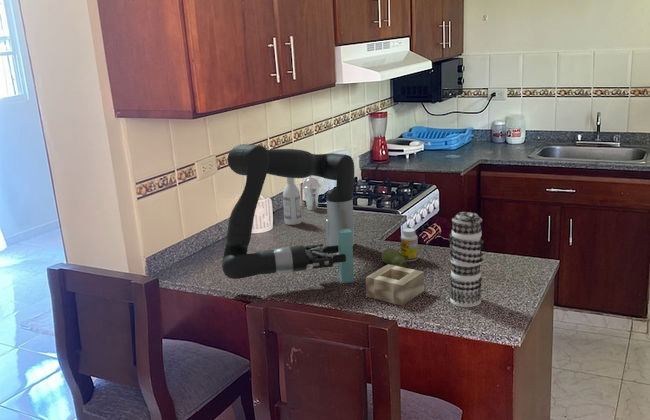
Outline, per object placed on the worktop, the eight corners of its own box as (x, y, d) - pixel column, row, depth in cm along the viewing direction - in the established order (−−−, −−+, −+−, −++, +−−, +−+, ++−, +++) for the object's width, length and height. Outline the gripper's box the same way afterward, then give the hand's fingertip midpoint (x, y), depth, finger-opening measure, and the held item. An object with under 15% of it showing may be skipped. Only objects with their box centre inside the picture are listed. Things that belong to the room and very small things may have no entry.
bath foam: (300, 219, 255) (297, 172, 250) (302, 224, 249) (299, 176, 243) (283, 221, 254) (280, 174, 249) (285, 226, 248) (282, 177, 243)
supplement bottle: (398, 257, 207) (397, 228, 204) (413, 255, 208) (413, 226, 205) (405, 263, 201) (404, 233, 199) (420, 260, 203) (420, 231, 200)
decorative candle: (443, 296, 174) (443, 211, 168) (473, 292, 176) (474, 208, 169) (456, 309, 166) (457, 220, 159) (488, 305, 168) (490, 216, 161)
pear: (392, 244, 203) (412, 256, 196) (390, 258, 205) (410, 271, 198) (379, 247, 200) (398, 260, 193) (377, 261, 202) (396, 275, 195)
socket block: (366, 296, 177) (365, 276, 175) (388, 282, 186) (388, 264, 184) (402, 305, 170) (402, 285, 168) (423, 291, 179) (423, 271, 177)
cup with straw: (325, 206, 274) (322, 162, 269) (316, 212, 266) (314, 166, 261) (307, 205, 277) (305, 161, 272) (298, 210, 269) (296, 165, 264)
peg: (342, 283, 187) (340, 233, 183) (339, 279, 191) (337, 229, 186) (353, 281, 188) (352, 231, 184) (350, 277, 191) (349, 228, 187)
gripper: (292, 255, 176) (347, 248, 179) (285, 240, 189) (336, 234, 192) (294, 279, 178) (348, 272, 181) (286, 263, 191) (337, 257, 194)
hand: (342, 253), depth 187 cm, fingers open, 8 cm apart
